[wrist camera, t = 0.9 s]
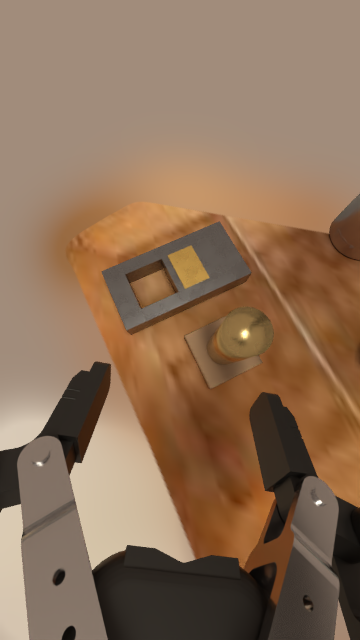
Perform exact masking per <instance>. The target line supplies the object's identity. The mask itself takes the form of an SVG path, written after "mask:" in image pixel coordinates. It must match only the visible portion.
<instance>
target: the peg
mask: <svg viewBox="0 0 360 640" xmlns="http://www.w3.org/2000/svg"><path fill="white" fill-rule="evenodd" d="M273 335H274V332H273V326H272V324H271V322H270V320H269V319H268V317H267V316H266V315H265V314H264V313H263V312H261V311H260V310H258V309H255V308H252V307H240V308H237V309H235V310H233V311H231V312H230V313H229V314H228V315H227V317H226V318H225V319H224V321H223V322H222V323H221V325H220V326H219V328H218V329H217V330H216V332H215V333H214V335H213V336H212V337H211V339H210V340H209V342H208V345H207V352H208V355H209V357H210V358H211V360H212V361H214V362H215V363H217V364H220V365H227V364H231V363H234V362H238V361H241V360H244V359H248V358H251V357H254V356H258V355H260V354H262V353H264V352H265V351H266V350H267V349H268V348H269V347H270V345H271V343H272V341H273Z"/></svg>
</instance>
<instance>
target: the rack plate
mask: <svg viewBox="0 0 360 640" xmlns="http://www.w3.org/2000/svg"><path fill="white" fill-rule="evenodd" d="M161 269H164V271H165V273H166V274H167V276H168V278H169V280H170V282H171V284H172V286H173V288H174V290H175V292H176V293H175V294H173V295H171V296H169V297H167V298H164V299H162V300H160V301H158V302H155V303H153V304H151V305H149V306H147V307H144V308H142V309H141V307H140V304H139V302H138V300H137V298H136V296H135V294H134V291H133V289H132V287H131V285H130V283H131V282H133V281H136V280H138V279H140V278H142V277H145V276H147V275H149V274H152V273H154V272H156V271H158V270H161ZM102 274H103V277H104V279H105V281H106V284H107V286H108V288H109V291H110V293H111V295H112V298H113V300H114V302H115V305H116V307H117V309H118V312H119V314H120V316H121V319H122V321H123V323H124V326H125V328H126V330H127V331H128V332H129V333H130V334H131V335H132V334H134V333H136V332H138V331H140V330H143V329H145V328H147V327H149V326H151V325H153V324H156V323H158V322H160V321H162V320H164V319H166V318H169V317H171V316H173V315H175V314H177V313H179V312H181V311H184V310H186V309H188V308H190V307H192V306H194V305H197V304H199V303H201V302H203V301H205V300H207V299H209V298H212V297H214V296H216V295H218V294H220V293H222V292H225V291H227V290H229V289H231V288H233V287H235V286H238V285H240V284H242V283H244V282H246V281H247V279H248V278H249V276H250V275H251V271H250V269H249V268H248V266H247V265H246V263H245V261H244V260H243V258H242V257H241V255H240V253H239V252H238V250H237V249H236V247H235V245H234V244H233V242H232V241H231V239H230V237H229V236H228V234H227V233H226V231H225V229H224V228H223V226H222V225H221V223H220V221H219V222H217V223H215V224H212V225H210V226H207V227H205V228H203V229H200V230H198V231H196V232H193V233H191V234H189V235H186V236H184V237H182V238H179V239H177V240H175V241H172V242H170V243H167V244H165V245H163V246H160V247H158V248H156V249H153V250H151V251H149V252H146V253H144V254H142V255H139V256H137V257H135V258H132V259H130V260H127V261H125V262H123V263H120V264H118V265H116V266H113V267H111V268H109V269H106V270H104V271H102Z"/></svg>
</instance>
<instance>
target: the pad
mask: <svg viewBox="0 0 360 640" xmlns="http://www.w3.org/2000/svg"><path fill="white" fill-rule="evenodd" d="M226 317H227V316H225V317H223V318H221V319H219V320H217V321H215V322H212V323H210V324H208V325H206V326H204V327H202V328H200V329H198V330H196V331H194V332H191V333H189V334H187V335H185V336H184V339H185V341H186V343H187V345H188V347H189V349H190V351H191V353H192V355H193V357H194V359H195V361H196V363H197V365H198V367H199V369H200V371H201V373H202V375H203V377H204V379H205V381H206V383H207V385H208V387H209V389H212V388H214V387H216V386H218V385H220V384H222V383H224V382H226V381H227V380H229V379H231V378H233V377H235V376H237V375H239V374H241V373H243V372H245V371H247V370H249V369H251V368H253V367H255V366H257V365H259V364H261V363H263V362H262V361H261V359H260V357H259V355H258V356H254V357H251V358H248V359H244V360H241V361H238V362H234V363H231V364H227V365H220V364H217V363H215V362H214V361H212V360H211V358H210V357H209V355H208V352H207V345H208V342H209V340H210V339H211V337H212V336H213V335H214V333H215V332H216V330H217V329H218V328H219V326H220V325H221V323H222V322H223V321H224V319H225V318H226Z"/></svg>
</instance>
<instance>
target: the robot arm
mask: <svg viewBox="0 0 360 640" xmlns="http://www.w3.org/2000/svg"><path fill="white" fill-rule="evenodd" d="M329 233H330V238H331V241H332V243H333V245H334V246H335V247H336V248H337V250H338V251H340V252H341V253H342V254H344V255H345V256H347V257H349V258H352V259H356V260H360V194H359V195H358V196H357V197H356V198H355V199H354V200H353V201H352V202H351V203H350V204H349V205H348V206H347V207H346V208H345V209H344V211H342V212H341V213H340V214H339V215H338V217H337V218H336V219H335V220H334V221H333V222H332V224H331V226H330V232H329ZM110 376H111V364H107V363H102V362H94V364H93V366H92V368H91V370H90V372H88V371H83V370H81V371H80V372H79V373H78V374H77V375H75V377H73V378H72V380H71V381H70V383H69V385H68V387H67V389H66V390H65V392H64V394H63V395H62V398H61V399H60V401H59V402H58V404H57V406H56V408H55V410H54V411H53V413H52V415H51V417H50V418H49V420H48V422H47V424H46V425H45V427H44V429H43V430H42V432H41V433H40V434H39V435H38V436H37V437H36V438H35V439H34V440H33V441H31V442H30V443H28V444H26V445H24V446H22V447H19V448H15V449H9V450H3V451H0V512H1V510H2V509H3V508H7V507H11V506H14V505H18V504H21V508H22V519H23V535H22V539H21V549H22V562H23V573H24V584H25V595H26V607H27V618H28V628H29V639H30V640H334V635H335V625H336V616H337V607H338V599H339V603H340V606H341V610H342V613H343V616H344V619H345V623H346V626H347V630H348V633H349V636H350V640H360V507H359V508H358V507H356V506H354V505H352V504H350V503H348V502H346V501H344V500H342V499H340V498H339V497H337V496H335V495H334V493H333V492H332V490H331V489H330V488H329V486H328V485H327V484H326V483H325V482H323V481H322V480H321V479H319V478H318V476H317V474H316V472H315V469H314V467H313V464H312V462H311V459H310V456H309V454H308V451H307V449H306V446H305V444H304V441H303V439H302V438H301V437H302V436H301V434H300V431H299V430H298V426H297V423H296V421H295V418H294V416H293V415H292V414H291V412H290V411H289V410H288V408H287V407H284V406H283V405H282V402H281V400H280V397H279V396H278V395H276V394H271V393H265V392H262V393H261V394H260V395H259V397H258V398H257V400H256V401H255V403H254V404H253V406H252V407H251V409H250V423H251V427H252V432H253V437H254V441H255V446H256V450H257V455H258V460H259V464H260V469H261V474H262V478H263V483H264V488H265V491H269V492H274V493H275V497H276V499H275V500H274V502H273V504H272V507H271V509H270V512H269V515H268V518H267V520H266V523H265V526H264V528H263V531H262V534H261V537H260V539H259V542H258V544H257V545H256V547H255V548H254V549H253V551H252V552H251V554H250V556H249V558H248V560H247V562H246V565H245V567H244V569H243V568H241V567H240V566H239V561H238V558H231V557H222V556H214V555H211V556H207V557H204V558H200V559H197V560H193V561H190V562H187V563H182V562H180V561H177V560H176V559H174V558H172V557H170V556H169V555H167V554H165V553H163V552H161V551H159V550H157V549H155V548H147V547H139V546H131V545H127V547H126V550H125V551H121V552H118V553H116V554H114V555H111V556H110V557H108V558H107V559H105V560H104V561H102V562H101V563H100V564H99V565H97V566H96V567H95V569H93V570H92V569H91V565H90V561H89V556H88V552H87V548H86V544H85V540H84V536H83V531H82V527H81V524H80V519H79V515H78V511H77V506H76V502H75V498H74V494H73V490H72V486H71V481H70V477H69V475H70V473H71V470H72V468H73V465H74V463H75V462H77V463H82V461H83V458H84V455H85V453H86V450H87V447H88V445H89V442H90V439H91V437H92V434H93V431H94V429H95V426H96V423H97V421H98V418H99V415H100V413H101V410H102V408H103V405H104V403H105V400H106V397H107V395H108V391H109V387H110Z"/></svg>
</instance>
